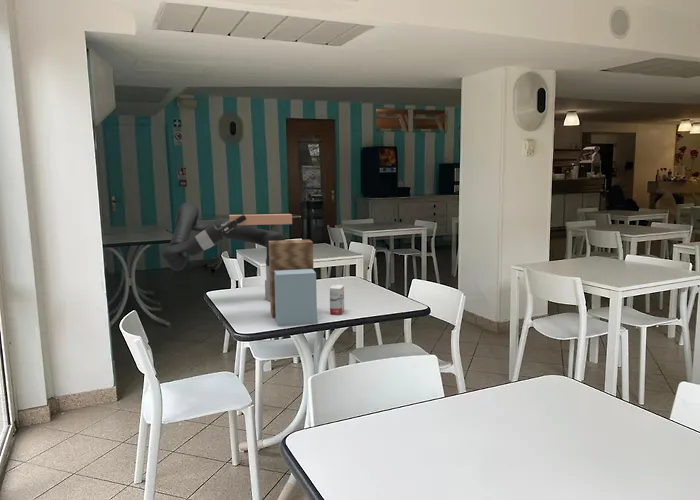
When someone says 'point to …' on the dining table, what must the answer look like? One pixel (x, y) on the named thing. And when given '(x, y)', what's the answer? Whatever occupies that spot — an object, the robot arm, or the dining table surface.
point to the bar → (264, 219)
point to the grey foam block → (295, 297)
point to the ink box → (336, 299)
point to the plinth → (288, 260)
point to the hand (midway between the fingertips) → (244, 216)
